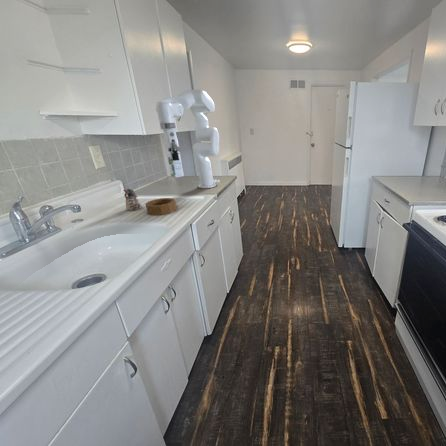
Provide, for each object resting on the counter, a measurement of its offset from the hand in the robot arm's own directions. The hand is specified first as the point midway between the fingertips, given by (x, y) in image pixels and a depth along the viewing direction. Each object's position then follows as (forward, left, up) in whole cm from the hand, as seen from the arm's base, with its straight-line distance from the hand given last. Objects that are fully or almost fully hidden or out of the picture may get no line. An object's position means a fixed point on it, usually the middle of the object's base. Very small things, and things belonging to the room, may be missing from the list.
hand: (174, 159), depth 147 cm
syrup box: (0, 0, -10) cm, 10 cm away
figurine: (+26, -5, -26) cm, 37 cm away
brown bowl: (+13, +9, -26) cm, 30 cm away
